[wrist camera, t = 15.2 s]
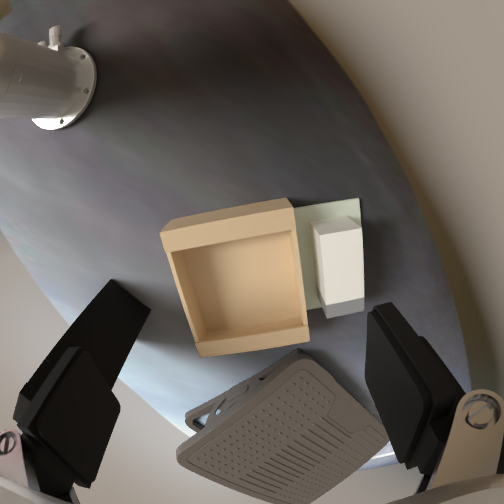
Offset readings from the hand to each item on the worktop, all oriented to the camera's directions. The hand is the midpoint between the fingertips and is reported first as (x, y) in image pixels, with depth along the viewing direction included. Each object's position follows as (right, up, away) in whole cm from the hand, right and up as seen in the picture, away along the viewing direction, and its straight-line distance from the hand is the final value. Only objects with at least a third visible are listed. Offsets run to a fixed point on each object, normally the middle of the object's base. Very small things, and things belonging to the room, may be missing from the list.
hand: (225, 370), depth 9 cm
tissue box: (-20, -5, +34) cm, 40 cm away
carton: (-1, +1, +32) cm, 32 cm away
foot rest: (+10, -33, +45) cm, 57 cm away
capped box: (+12, +3, +31) cm, 33 cm away
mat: (+12, +3, +31) cm, 34 cm away
